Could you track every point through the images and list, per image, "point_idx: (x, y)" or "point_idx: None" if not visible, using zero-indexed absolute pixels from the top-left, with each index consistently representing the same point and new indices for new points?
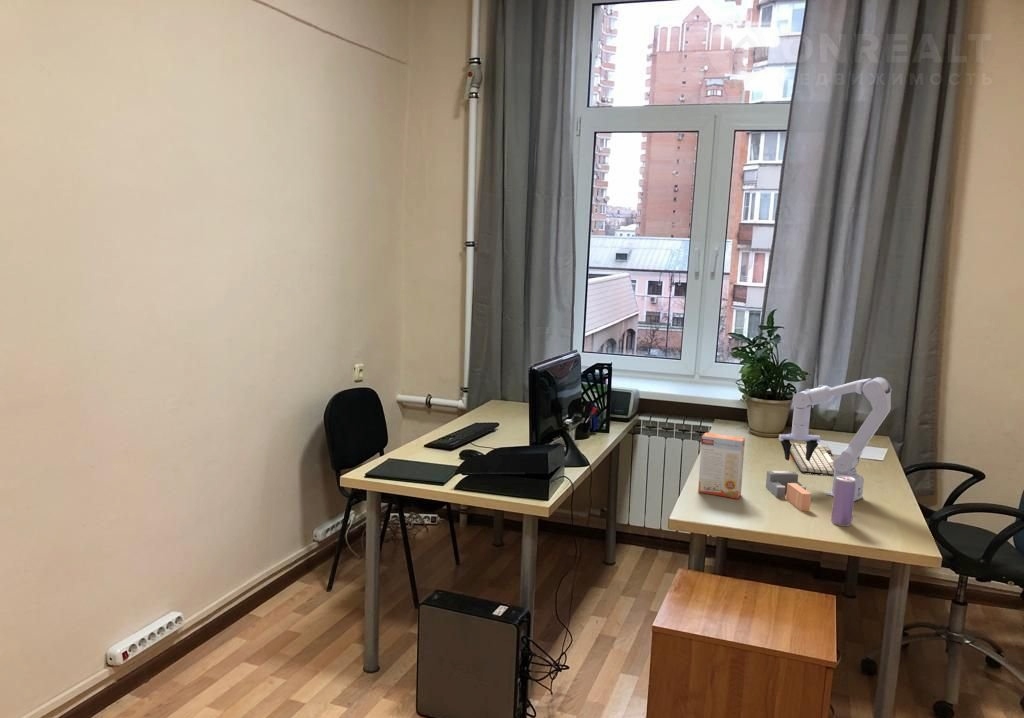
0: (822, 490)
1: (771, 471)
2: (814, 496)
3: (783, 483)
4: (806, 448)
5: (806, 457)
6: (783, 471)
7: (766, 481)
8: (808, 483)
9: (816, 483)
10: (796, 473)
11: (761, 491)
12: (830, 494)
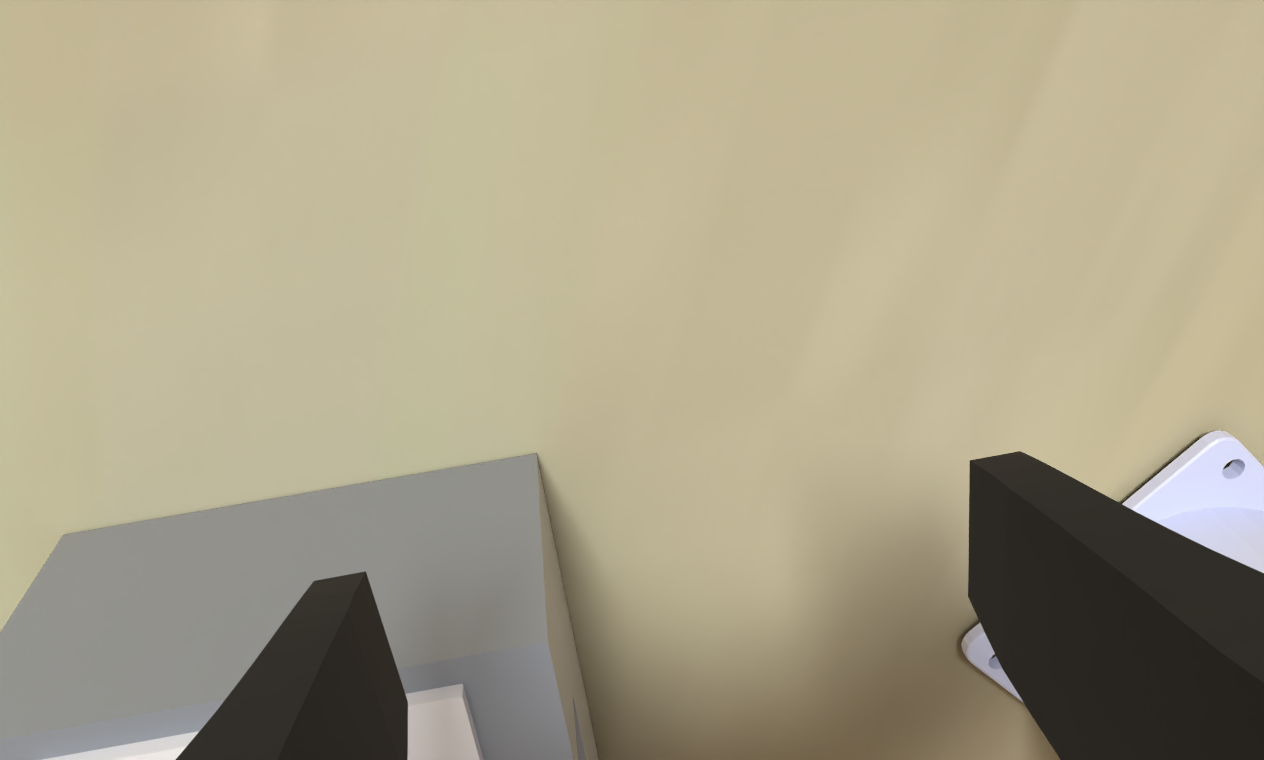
0: None
1: (23, 758)
2: (758, 725)
3: None
4: (1194, 634)
5: (999, 539)
6: None
7: (26, 610)
8: (883, 165)
9: (1037, 130)
10: (562, 736)
11: None
12: (995, 681)
